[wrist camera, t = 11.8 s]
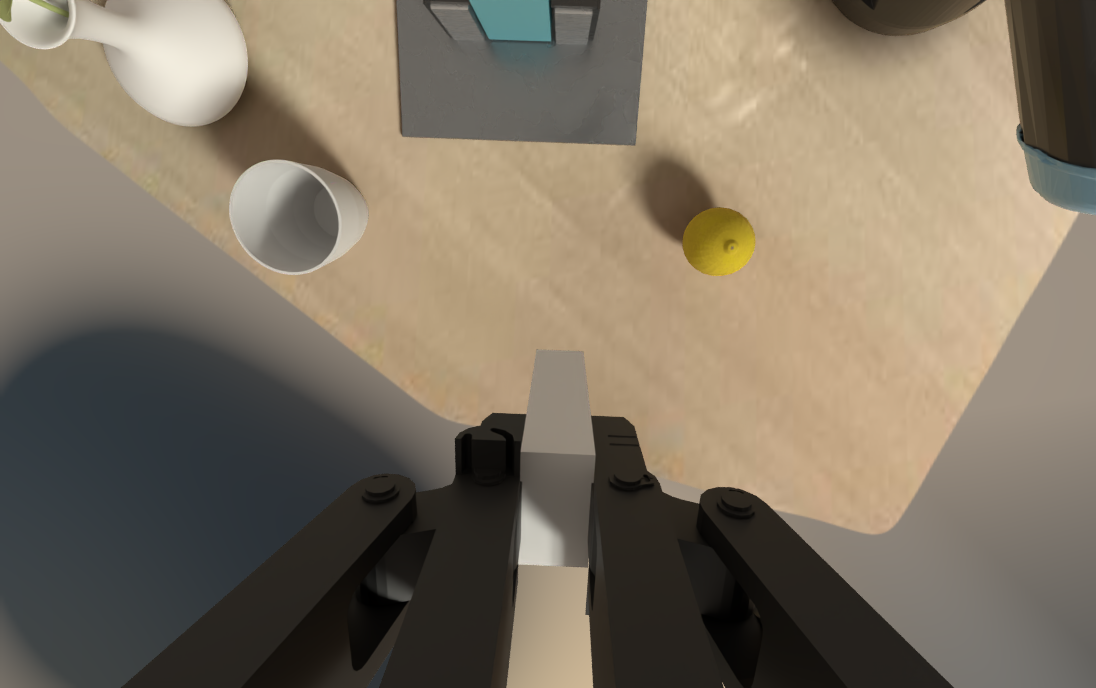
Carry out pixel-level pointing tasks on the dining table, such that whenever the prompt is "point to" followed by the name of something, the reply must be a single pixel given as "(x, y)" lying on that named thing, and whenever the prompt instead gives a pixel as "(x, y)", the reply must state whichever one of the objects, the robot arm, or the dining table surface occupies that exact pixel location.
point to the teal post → (515, 19)
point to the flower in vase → (149, 49)
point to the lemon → (718, 241)
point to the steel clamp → (522, 74)
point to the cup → (295, 215)
